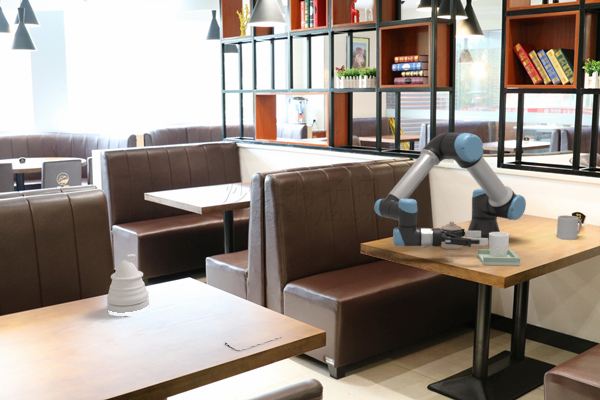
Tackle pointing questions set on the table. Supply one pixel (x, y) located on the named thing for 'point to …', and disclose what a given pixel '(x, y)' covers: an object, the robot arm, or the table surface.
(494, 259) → the green tray
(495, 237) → the white cup
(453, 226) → the teacup with lid
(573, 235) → the mug
